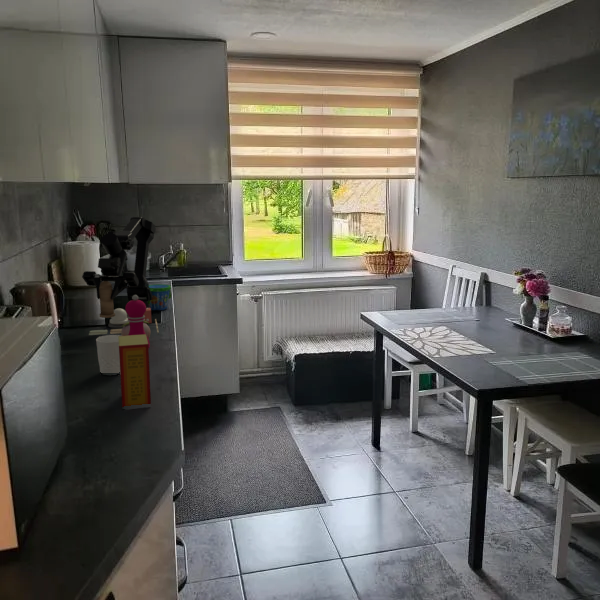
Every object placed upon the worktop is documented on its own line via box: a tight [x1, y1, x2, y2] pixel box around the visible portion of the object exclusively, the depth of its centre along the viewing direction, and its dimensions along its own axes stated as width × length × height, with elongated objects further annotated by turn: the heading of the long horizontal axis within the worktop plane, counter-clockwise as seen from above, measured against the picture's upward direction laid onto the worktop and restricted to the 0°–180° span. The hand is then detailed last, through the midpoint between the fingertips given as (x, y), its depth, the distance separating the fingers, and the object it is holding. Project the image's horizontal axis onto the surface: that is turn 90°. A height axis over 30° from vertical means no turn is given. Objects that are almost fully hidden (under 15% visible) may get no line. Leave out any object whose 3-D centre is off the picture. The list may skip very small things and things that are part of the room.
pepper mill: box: [124, 295, 151, 349], centre depth 163 cm, size 7×7×20 cm
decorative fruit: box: [120, 321, 151, 339], centre depth 175 cm, size 9×8×10 cm
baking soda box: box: [118, 334, 152, 408], centre depth 131 cm, size 10×6×16 cm
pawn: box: [99, 281, 115, 319], centre depth 189 cm, size 5×5×12 cm
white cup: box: [95, 334, 122, 373], centre depth 152 cm, size 8×8×10 cm
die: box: [144, 307, 153, 324], centre depth 206 cm, size 5×5×5 cm
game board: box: [88, 318, 160, 336], centre depth 199 cm, size 20×25×2 cm
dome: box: [109, 307, 129, 324], centre depth 201 cm, size 7×7×6 cm
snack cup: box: [148, 283, 172, 311], centre depth 234 cm, size 16×10×10 cm
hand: (104, 298), depth 188 cm, fingers closed on pawn, 4 cm apart
